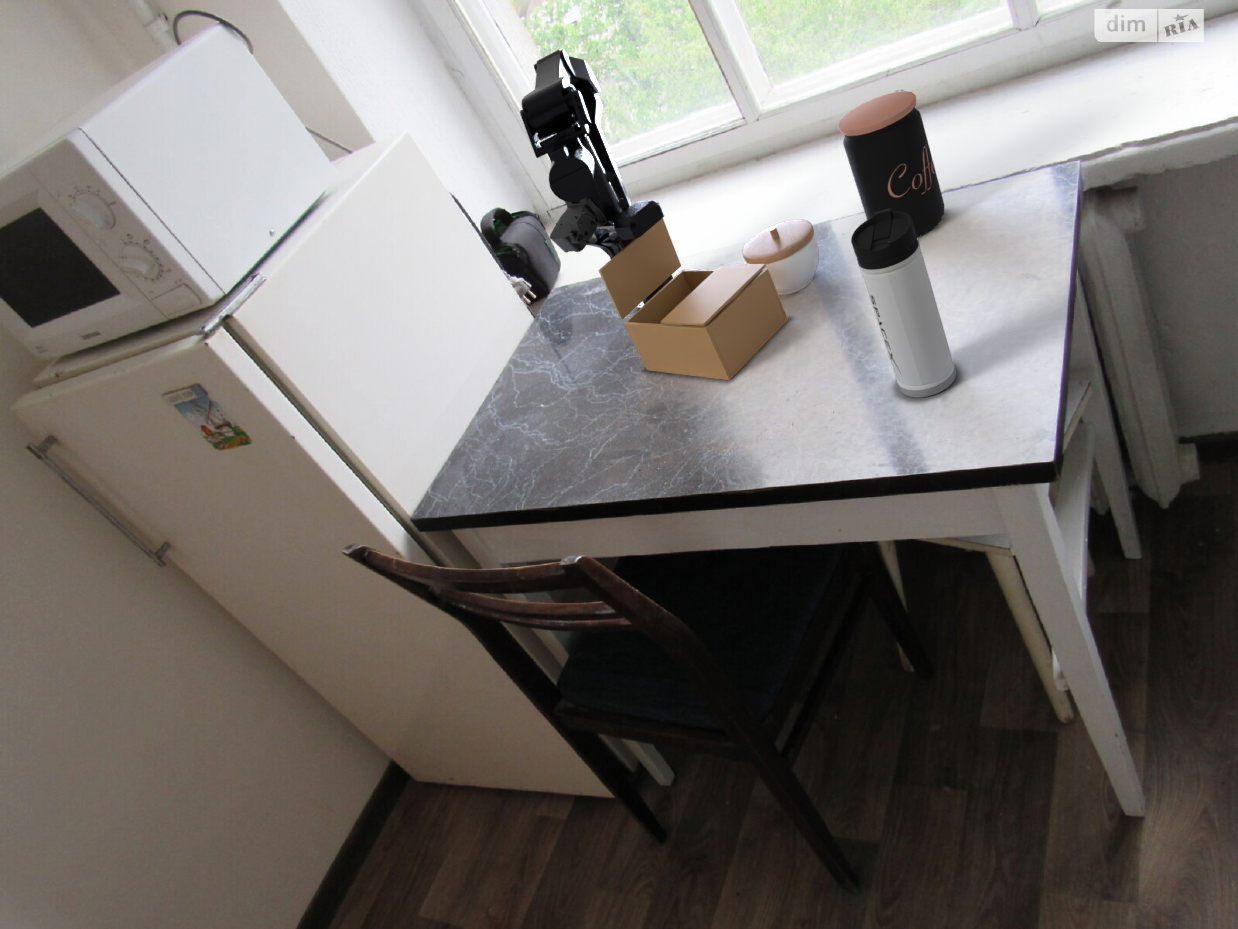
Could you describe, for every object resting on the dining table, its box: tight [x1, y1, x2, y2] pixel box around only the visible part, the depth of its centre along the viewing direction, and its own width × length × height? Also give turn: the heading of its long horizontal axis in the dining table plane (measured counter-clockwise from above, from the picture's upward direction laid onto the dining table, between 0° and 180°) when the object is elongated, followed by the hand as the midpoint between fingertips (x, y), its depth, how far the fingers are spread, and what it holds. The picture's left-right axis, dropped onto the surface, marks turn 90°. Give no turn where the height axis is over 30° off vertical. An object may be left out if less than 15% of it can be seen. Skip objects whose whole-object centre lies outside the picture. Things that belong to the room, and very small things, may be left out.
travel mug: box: [850, 208, 957, 398], centre depth 93 cm, size 6×7×20 cm
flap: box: [597, 217, 682, 321], centre depth 126 cm, size 8×14×1 cm
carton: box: [623, 263, 789, 381], centre depth 124 cm, size 17×14×9 cm
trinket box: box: [741, 218, 820, 296], centre depth 128 cm, size 11×11×9 cm
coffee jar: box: [837, 90, 946, 238], centre depth 124 cm, size 11×11×18 cm
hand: (631, 273), depth 128 cm, fingers closed
